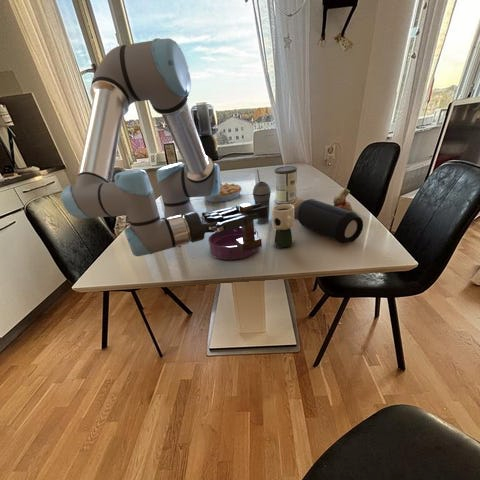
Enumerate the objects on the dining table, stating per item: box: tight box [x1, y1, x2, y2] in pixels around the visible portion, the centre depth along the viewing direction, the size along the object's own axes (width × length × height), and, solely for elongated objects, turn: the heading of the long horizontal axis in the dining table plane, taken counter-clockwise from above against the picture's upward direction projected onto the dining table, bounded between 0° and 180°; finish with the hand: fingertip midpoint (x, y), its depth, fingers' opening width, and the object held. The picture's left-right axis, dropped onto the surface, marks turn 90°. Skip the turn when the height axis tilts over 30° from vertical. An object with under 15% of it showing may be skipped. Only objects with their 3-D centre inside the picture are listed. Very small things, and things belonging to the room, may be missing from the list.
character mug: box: [271, 203, 295, 248], centre depth 95 cm, size 11×7×13 cm, turn 19°
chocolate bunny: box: [332, 187, 353, 212], centre depth 115 cm, size 6×8×10 cm
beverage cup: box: [252, 169, 272, 225], centre depth 112 cm, size 7×7×20 cm
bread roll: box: [289, 198, 306, 219], centre depth 119 cm, size 10×10×8 cm
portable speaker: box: [296, 198, 364, 244], centre depth 100 cm, size 26×10×10 cm, turn 27°
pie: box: [204, 182, 243, 203], centre depth 153 cm, size 22×22×5 cm
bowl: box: [208, 227, 260, 261], centre depth 98 cm, size 17×17×5 cm
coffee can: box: [274, 165, 298, 204], centre depth 134 cm, size 10×10×14 cm
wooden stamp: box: [236, 202, 263, 252], centre depth 83 cm, size 6×4×12 cm
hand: (263, 209), depth 82 cm, fingers closed on wooden stamp, 3 cm apart
